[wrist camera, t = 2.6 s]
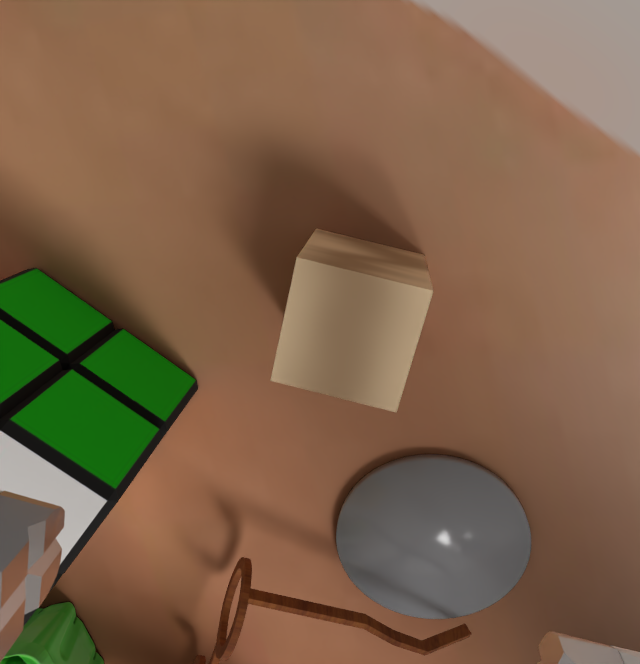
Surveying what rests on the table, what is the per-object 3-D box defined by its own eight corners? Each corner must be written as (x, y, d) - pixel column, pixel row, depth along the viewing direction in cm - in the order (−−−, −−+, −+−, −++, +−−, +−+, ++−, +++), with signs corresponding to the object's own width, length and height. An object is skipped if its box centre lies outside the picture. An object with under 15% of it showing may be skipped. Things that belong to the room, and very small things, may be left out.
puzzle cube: (-45, 404, 32) (-222, 521, 23) (34, 261, 29) (-136, 330, 20) (110, 507, 34) (1, 657, 24) (203, 381, 30) (119, 499, 21)
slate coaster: (557, 482, 30) (560, 489, 29) (493, 629, 33) (494, 638, 33) (362, 432, 30) (361, 439, 29) (319, 584, 34) (318, 592, 33)
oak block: (424, 254, 27) (433, 291, 21) (395, 354, 28) (396, 412, 23) (316, 228, 27) (296, 257, 21) (293, 329, 29) (270, 380, 23)
